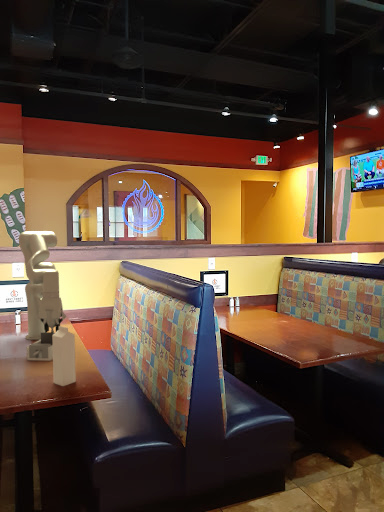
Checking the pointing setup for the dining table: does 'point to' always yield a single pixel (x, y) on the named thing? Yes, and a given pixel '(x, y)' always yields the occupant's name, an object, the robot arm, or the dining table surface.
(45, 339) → the pusher
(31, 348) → the grey bracket
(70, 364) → the milk
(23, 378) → the dining table surface
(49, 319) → the chalice
